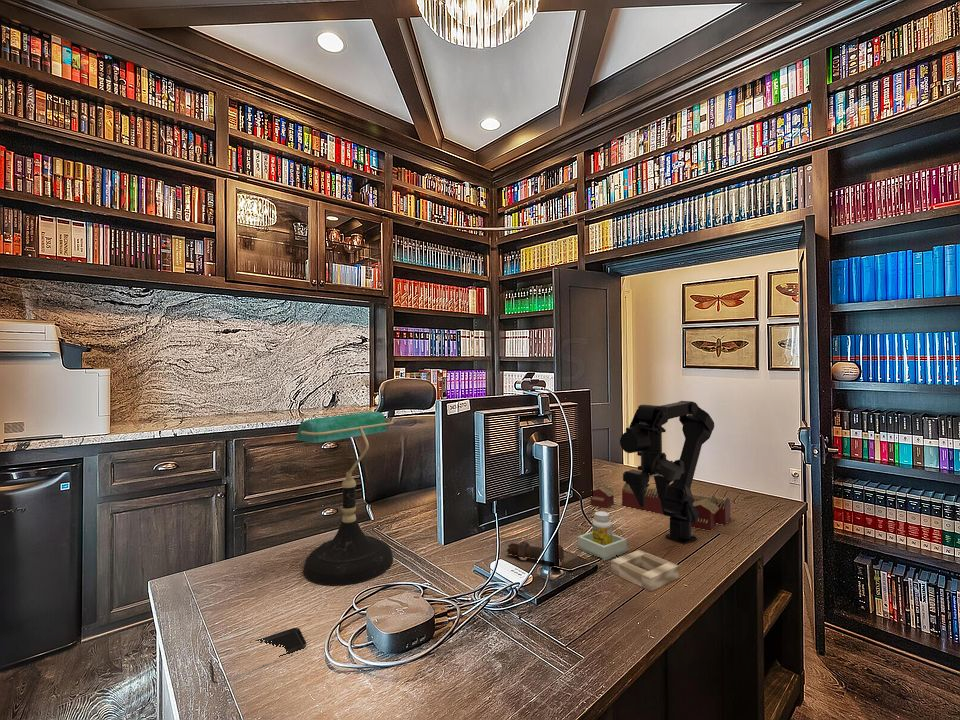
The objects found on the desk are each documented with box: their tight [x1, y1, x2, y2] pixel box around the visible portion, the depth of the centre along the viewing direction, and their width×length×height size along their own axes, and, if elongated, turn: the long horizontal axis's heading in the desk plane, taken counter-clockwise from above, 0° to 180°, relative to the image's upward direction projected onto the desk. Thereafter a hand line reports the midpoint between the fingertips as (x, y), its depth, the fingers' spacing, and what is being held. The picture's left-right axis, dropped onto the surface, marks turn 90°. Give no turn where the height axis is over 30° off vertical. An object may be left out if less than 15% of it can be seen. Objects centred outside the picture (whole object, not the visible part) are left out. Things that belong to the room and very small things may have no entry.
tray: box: [577, 531, 628, 561], centre depth 124 cm, size 10×10×4 cm
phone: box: [250, 627, 307, 657], centre depth 81 cm, size 8×1×15 cm
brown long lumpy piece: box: [506, 540, 565, 562], centre depth 118 cm, size 6×5×15 cm
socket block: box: [610, 549, 680, 592], centre depth 109 cm, size 11×11×3 cm
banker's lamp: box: [295, 411, 394, 586], centre depth 117 cm, size 26×23×40 cm
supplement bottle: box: [592, 510, 613, 546], centre depth 124 cm, size 5×5×10 cm
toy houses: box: [590, 482, 731, 532], centre depth 156 cm, size 45×20×10 cm, turn 51°
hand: (652, 503), depth 124 cm, fingers open, 9 cm apart
